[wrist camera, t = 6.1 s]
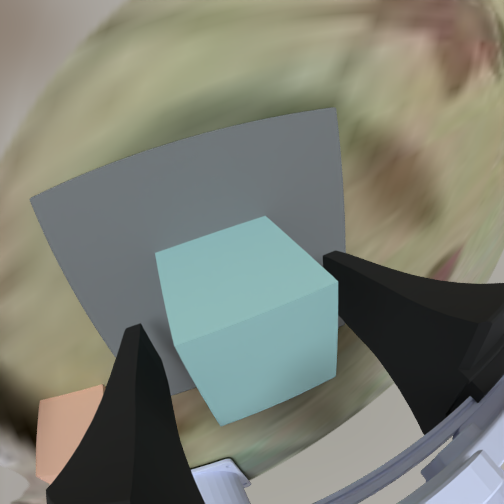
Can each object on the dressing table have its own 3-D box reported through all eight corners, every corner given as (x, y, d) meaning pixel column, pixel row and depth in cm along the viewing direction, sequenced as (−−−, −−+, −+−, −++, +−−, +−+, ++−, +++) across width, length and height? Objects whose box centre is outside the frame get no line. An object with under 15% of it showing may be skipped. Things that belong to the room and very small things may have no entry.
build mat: (342, 322, 17) (344, 324, 17) (149, 399, 15) (149, 402, 15) (332, 107, 11) (335, 107, 11) (31, 197, 8) (29, 199, 8)
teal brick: (279, 301, 14) (335, 376, 10) (189, 335, 13) (220, 426, 9) (265, 215, 12) (338, 281, 8) (154, 253, 11) (174, 345, 7)
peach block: (139, 423, 16) (154, 494, 12) (81, 437, 15) (87, 503, 11) (102, 383, 13) (109, 467, 9) (39, 399, 12) (36, 476, 8)
